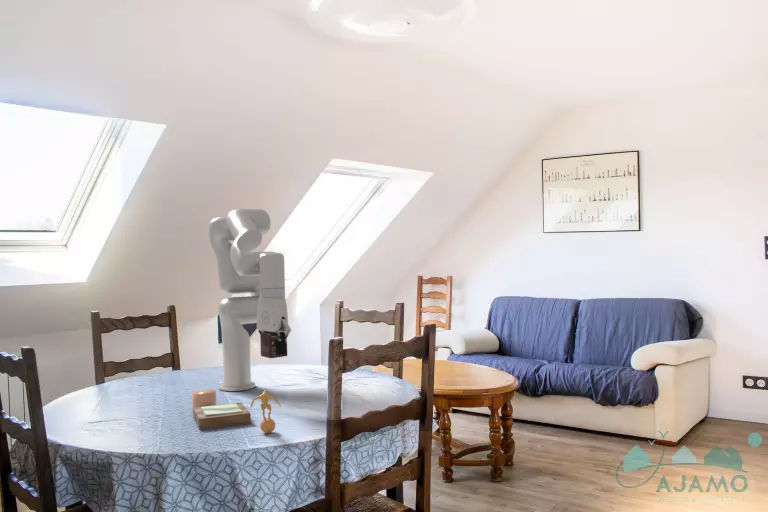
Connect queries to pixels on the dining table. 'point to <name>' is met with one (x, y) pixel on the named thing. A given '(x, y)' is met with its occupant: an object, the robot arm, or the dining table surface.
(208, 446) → the dining table surface
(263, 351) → the box
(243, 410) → the stand
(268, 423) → the figurine
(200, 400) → the peach rounded block
